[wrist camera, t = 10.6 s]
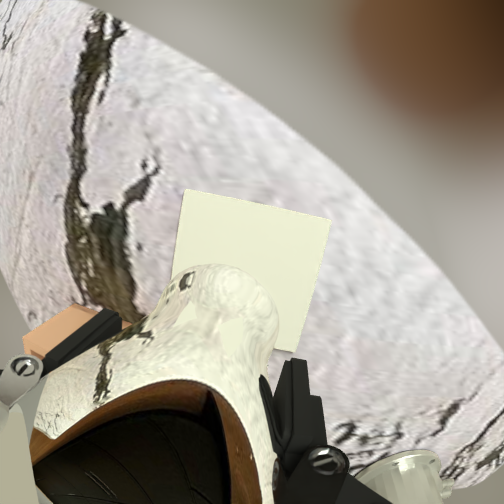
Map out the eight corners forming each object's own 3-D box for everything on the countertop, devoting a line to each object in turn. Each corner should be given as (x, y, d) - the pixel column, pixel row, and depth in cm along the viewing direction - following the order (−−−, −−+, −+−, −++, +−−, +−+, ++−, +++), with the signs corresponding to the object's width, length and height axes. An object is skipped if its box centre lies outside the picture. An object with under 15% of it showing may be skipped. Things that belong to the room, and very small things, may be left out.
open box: (155, 331, 26) (114, 381, 18) (152, 403, 28) (121, 455, 20) (75, 303, 26) (22, 337, 18) (80, 374, 28) (40, 414, 20)
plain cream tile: (330, 219, 22) (331, 220, 22) (295, 350, 25) (295, 352, 24) (186, 189, 23) (184, 189, 22) (167, 319, 25) (166, 321, 25)
